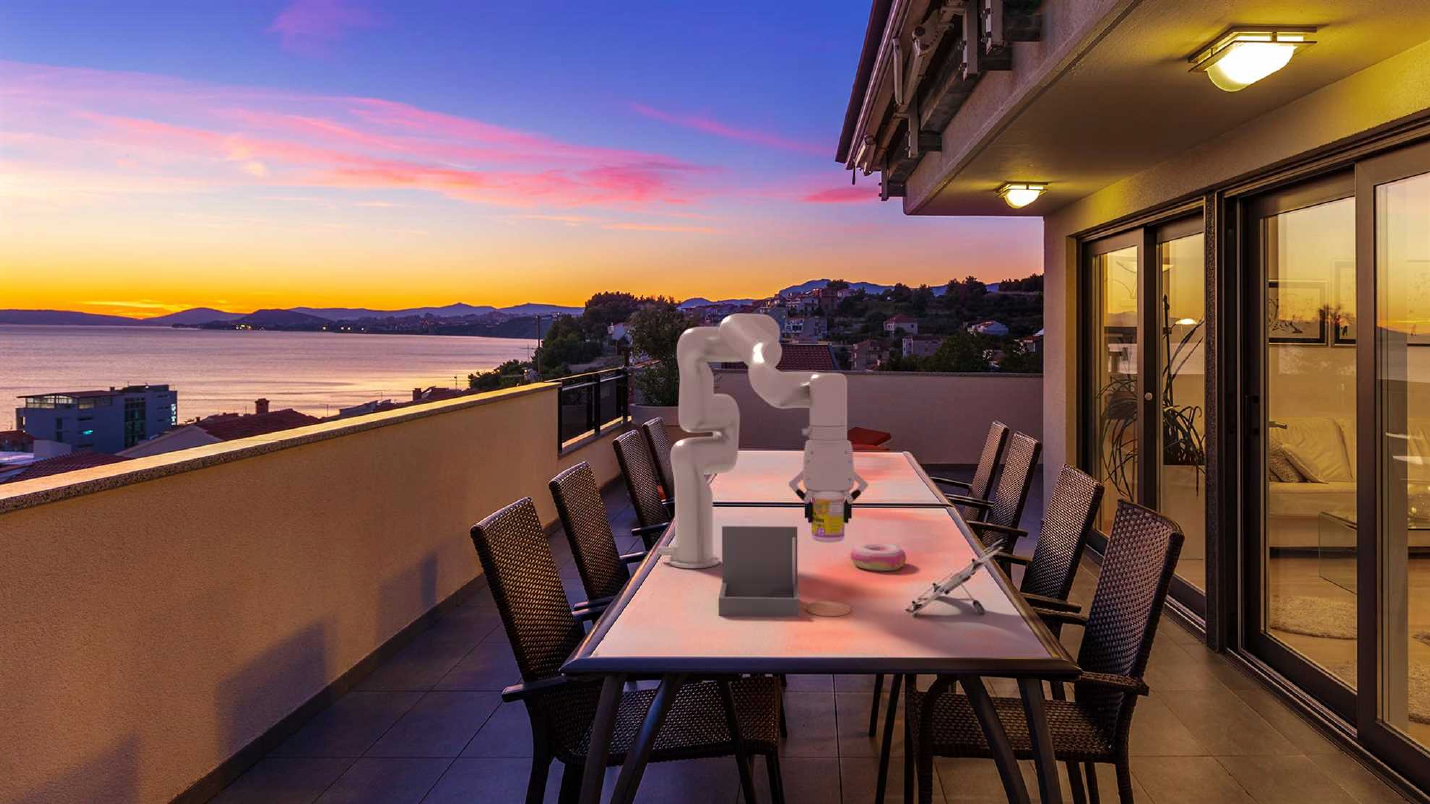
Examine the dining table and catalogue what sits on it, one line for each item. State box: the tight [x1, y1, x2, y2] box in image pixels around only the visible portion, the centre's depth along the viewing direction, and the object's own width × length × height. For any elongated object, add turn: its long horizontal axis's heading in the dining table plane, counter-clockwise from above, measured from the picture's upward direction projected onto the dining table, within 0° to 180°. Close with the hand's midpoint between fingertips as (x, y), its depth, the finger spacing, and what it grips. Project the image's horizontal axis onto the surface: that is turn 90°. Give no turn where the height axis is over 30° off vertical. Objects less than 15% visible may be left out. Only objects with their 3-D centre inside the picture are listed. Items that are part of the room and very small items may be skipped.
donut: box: [850, 542, 907, 572], centre depth 206 cm, size 14×13×5 cm
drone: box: [904, 538, 1003, 616], centre depth 167 cm, size 23×23×10 cm
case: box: [718, 525, 800, 618], centre depth 171 cm, size 16×13×16 cm
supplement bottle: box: [811, 491, 846, 543], centre depth 168 cm, size 7×7×13 cm
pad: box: [805, 601, 851, 617], centre depth 169 cm, size 9×9×1 cm
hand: (828, 521), depth 169 cm, fingers closed on supplement bottle, 6 cm apart
